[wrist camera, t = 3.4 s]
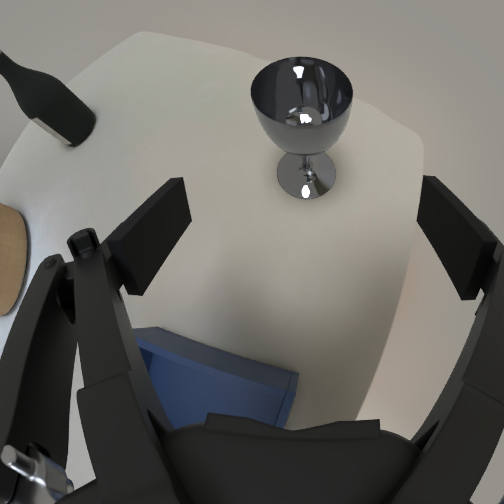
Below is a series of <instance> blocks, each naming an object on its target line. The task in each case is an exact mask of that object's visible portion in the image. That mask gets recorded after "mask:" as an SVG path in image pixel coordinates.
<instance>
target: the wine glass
mask: <svg viewBox="0 0 504 504" xmlns="http://www.w3.org/2000/svg"><path fill="white" fill-rule="evenodd" d="M251 98H252V102H253V106H254V109H255V112H256V115H257V117H258V120H259V122H260V124H261V126H262V127H263V129H264V131H265V133H266V134H267V135H268V137H269V138H270V139H271V140H272V142H273V143H274V144H275V145H277V146H278V147H279V148H280V149H282V150H283V151H285V152H287V154H286V155H285V156H284V157H283V158H282V159H281V161H280V162H279V165H278V169H277V177H278V181H279V183H280V185H281V186H282V188H283V189H284V190H285V191H286V192H287V193H289V194H290V195H292V196H294V197H297V198H301V199H313V198H317V197H320V196H322V195H323V194H325V193H326V192H328V191H329V190H330V188H331V187H332V185H333V183H334V181H335V176H336V171H335V167H334V164H333V162H332V160H331V159H330V158H329V157H328V156H327V155H326V154H325V153H324V152H325V151H327V150H328V149H330V148H331V147H332V146H333V145H334V144H335V143H336V142H337V141H338V140H339V138H340V136H341V135H342V133H343V131H344V129H345V127H346V125H347V122H348V119H349V115H350V111H351V107H352V100H353V89H352V85H351V83H350V81H349V79H348V78H347V76H346V75H345V74H344V72H342V71H341V70H340V69H339V68H337V67H336V66H334V65H332V64H331V63H328V62H326V61H324V60H320V59H317V58H311V57H291V58H285V59H282V60H278V61H276V62H274V63H271V64H270V65H268V66H266V67H265V68H264V69H262V70H261V71H260V72H259V73H258V74H257V76H256V77H255V79H254V80H253V82H252V86H251Z"/></svg>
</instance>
